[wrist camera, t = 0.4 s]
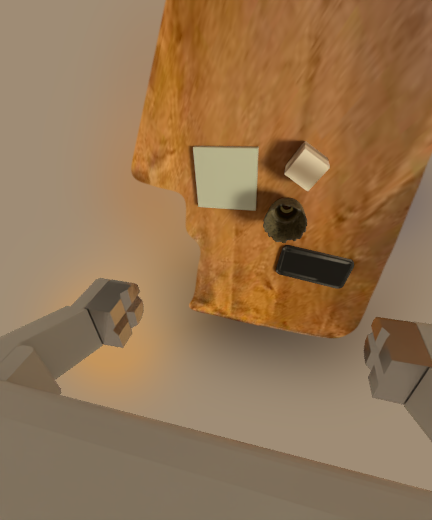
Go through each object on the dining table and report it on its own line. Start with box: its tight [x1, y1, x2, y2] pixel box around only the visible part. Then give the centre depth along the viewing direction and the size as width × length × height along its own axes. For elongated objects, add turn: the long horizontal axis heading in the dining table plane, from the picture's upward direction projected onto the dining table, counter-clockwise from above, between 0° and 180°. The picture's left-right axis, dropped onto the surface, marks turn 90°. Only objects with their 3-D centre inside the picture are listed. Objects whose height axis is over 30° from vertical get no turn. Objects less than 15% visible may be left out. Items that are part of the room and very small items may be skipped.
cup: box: [263, 198, 307, 243], centre depth 52 cm, size 8×7×8 cm
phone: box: [276, 245, 354, 288], centre depth 61 cm, size 8×1×15 cm
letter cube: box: [284, 141, 330, 191], centre depth 47 cm, size 5×5×5 cm
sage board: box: [193, 146, 259, 211], centre depth 54 cm, size 12×12×1 cm
